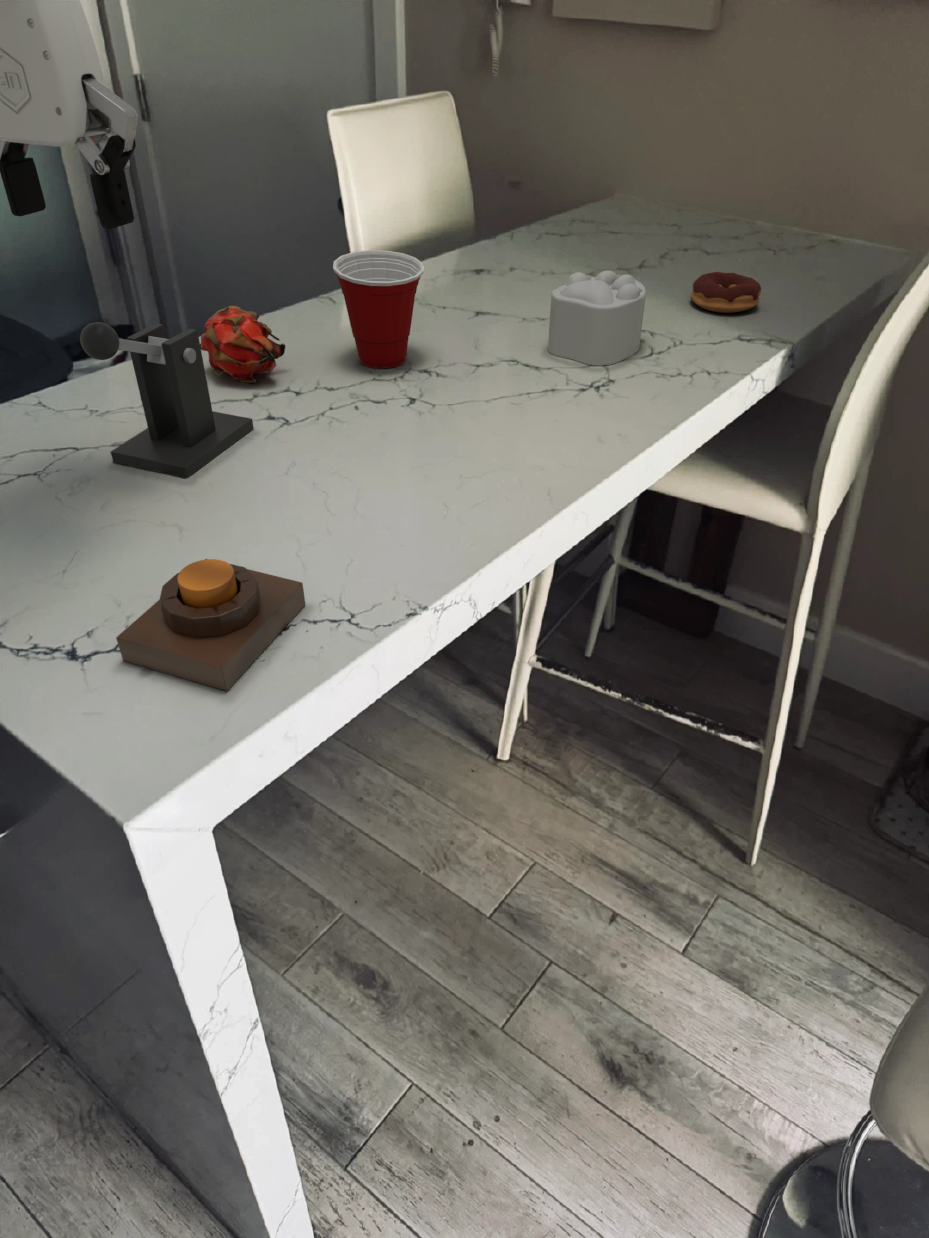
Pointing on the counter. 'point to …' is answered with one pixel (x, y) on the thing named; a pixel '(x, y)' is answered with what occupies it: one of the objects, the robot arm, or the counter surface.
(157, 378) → the ball-topped lever switch base
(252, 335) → the dragon fruit
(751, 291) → the donut
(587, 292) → the lumpy-topped squat cylinder
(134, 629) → the control block
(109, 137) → the robot arm
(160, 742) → the counter surface
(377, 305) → the plastic cup
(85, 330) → the ball-topped lever switch
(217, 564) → the warm button
